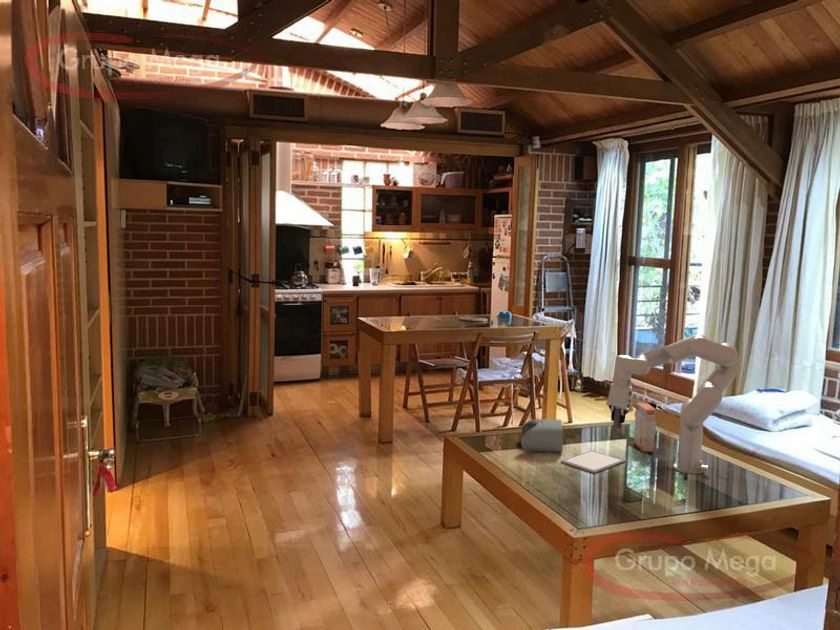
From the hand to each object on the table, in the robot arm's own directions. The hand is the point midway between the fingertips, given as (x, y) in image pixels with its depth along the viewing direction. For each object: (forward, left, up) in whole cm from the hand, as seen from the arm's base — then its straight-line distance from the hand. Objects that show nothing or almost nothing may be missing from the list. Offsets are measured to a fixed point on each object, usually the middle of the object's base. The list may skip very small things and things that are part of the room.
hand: (617, 421), depth 315 cm
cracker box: (+1, -27, -19) cm, 33 cm away
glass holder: (+14, -49, -19) cm, 54 cm away
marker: (0, 0, -3) cm, 3 cm away
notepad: (+4, +11, -18) cm, 22 cm away
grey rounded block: (+32, +13, -19) cm, 40 cm away
